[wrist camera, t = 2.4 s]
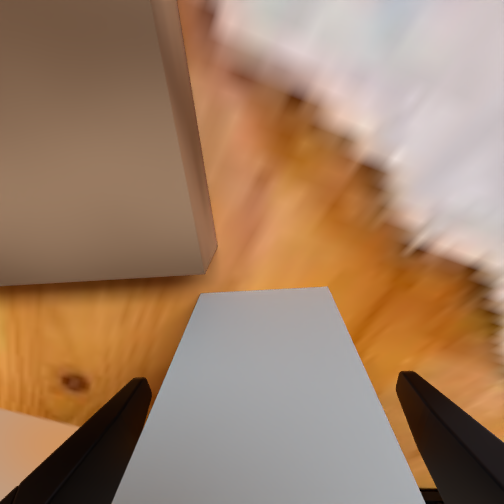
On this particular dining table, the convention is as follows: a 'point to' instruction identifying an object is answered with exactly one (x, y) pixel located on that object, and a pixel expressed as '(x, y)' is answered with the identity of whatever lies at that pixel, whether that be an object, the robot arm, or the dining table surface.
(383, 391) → the dining table surface
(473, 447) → the robot arm
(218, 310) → the slate block
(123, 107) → the walnut plinth
